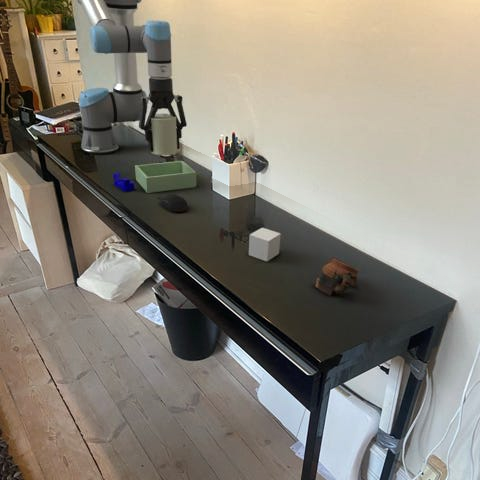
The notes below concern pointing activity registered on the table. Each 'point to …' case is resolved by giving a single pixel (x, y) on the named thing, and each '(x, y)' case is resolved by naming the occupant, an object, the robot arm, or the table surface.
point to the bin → (165, 176)
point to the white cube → (264, 244)
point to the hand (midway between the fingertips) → (164, 149)
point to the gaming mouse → (174, 203)
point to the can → (164, 134)
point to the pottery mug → (339, 284)
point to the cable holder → (123, 183)
